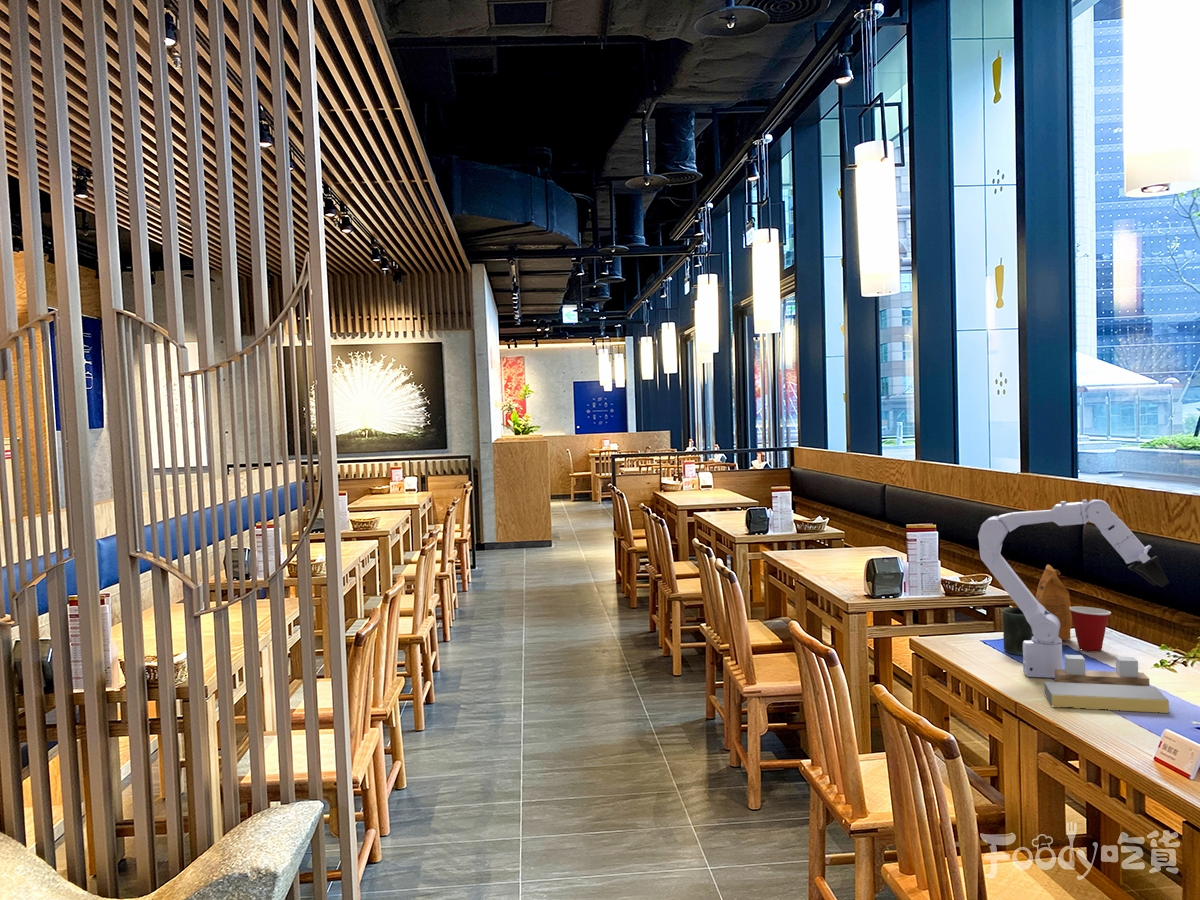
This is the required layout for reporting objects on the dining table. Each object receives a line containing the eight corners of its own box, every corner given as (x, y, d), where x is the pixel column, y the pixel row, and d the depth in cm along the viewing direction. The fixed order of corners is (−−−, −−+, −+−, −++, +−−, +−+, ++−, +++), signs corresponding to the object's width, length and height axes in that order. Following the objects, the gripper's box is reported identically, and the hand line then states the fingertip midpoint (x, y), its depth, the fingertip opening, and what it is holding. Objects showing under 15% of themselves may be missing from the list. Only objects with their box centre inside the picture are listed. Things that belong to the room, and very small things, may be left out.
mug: (1005, 656, 260) (1004, 614, 260) (997, 644, 274) (996, 604, 274) (1047, 657, 257) (1045, 615, 257) (1036, 645, 271) (1035, 605, 271)
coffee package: (1066, 633, 283) (1064, 563, 283) (1074, 643, 272) (1072, 570, 271) (1031, 632, 287) (1029, 563, 286) (1037, 641, 275) (1035, 569, 274)
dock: (1052, 707, 212) (1051, 694, 212) (1044, 693, 223) (1044, 681, 223) (1169, 713, 205) (1168, 700, 205) (1155, 698, 216) (1154, 686, 216)
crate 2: (1119, 676, 223) (1119, 660, 223) (1116, 672, 227) (1115, 656, 227) (1138, 677, 222) (1137, 661, 222) (1134, 673, 225) (1133, 657, 225)
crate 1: (1067, 674, 226) (1067, 658, 226) (1064, 670, 230) (1064, 654, 230) (1085, 675, 225) (1085, 659, 225) (1082, 670, 229) (1081, 655, 229)
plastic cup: (1120, 653, 258) (1119, 611, 258) (1082, 654, 258) (1080, 612, 258) (1099, 644, 269) (1098, 604, 268) (1063, 645, 269) (1061, 605, 269)
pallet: (1058, 690, 226) (1058, 674, 226) (1055, 684, 232) (1054, 669, 232) (1149, 694, 220) (1149, 678, 220) (1143, 688, 226) (1143, 672, 226)
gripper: (1143, 530, 222) (1183, 576, 219) (1130, 531, 236) (1168, 574, 232) (1118, 547, 224) (1157, 592, 220) (1107, 546, 238) (1144, 589, 234)
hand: (1161, 584), depth 226 cm, fingers open, 7 cm apart
